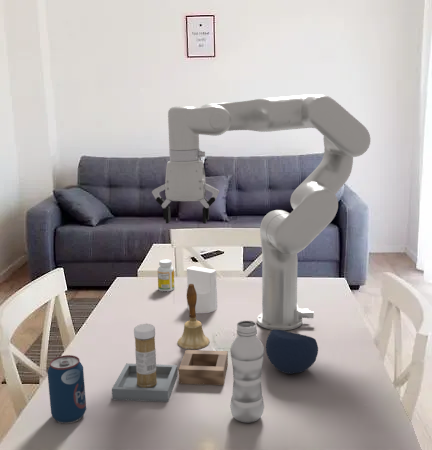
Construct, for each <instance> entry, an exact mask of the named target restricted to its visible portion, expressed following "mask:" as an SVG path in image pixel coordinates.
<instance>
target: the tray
mask: <svg viewBox="0 0 432 450" xmlns="http://www.w3.org/2000/svg"><path fill="white" fill-rule="evenodd" d="M178 377H179V368H178V364H159V363H158V364H157V363H156V379H157V384H156V385H155V386H153V387H150V388H142V387H139V386H138V385H137V371H136V363H129V362H128V363H126V364H124V366H123V368H122V370H121V372H120V373H119V375H118V377H117V378H116V381H115V383H114V384H113V386H112V387H111V397H112V400H113V401H114V400H116V401H135V402H136V401H141V402H161V403H162V402H164V403H165V402H167V403H168V402H169V400H170V398H171V395H172V392H173V389H174V387H175V384H176V380H177V378H178Z"/></svg>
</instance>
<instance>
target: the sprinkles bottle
mask: <svg viewBox="0 0 432 450" xmlns="http://www.w3.org/2000/svg"><path fill="white" fill-rule="evenodd" d="M133 336H134V337H133V338H134V341H135V342H134V346H135V348H134V349H135V364H136V371H137V385H138V386H139V387H142V388H150V387H153V386H155V385H156V384H157V379H156V364H157V353H156V351H157V349H156V341H155V340H156V339H155V338H156V327H155V325H153V324H151V323H150V324H149V323H141V324H138V325H135V327H133Z"/></svg>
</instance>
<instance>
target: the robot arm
mask: <svg viewBox="0 0 432 450" xmlns="http://www.w3.org/2000/svg"><path fill="white" fill-rule="evenodd" d="M167 118H168V119H167V120H168V121H167V123H168V148H169V160H168V161H167V163H166V170H165V179H164V180H165V181H164V182H165V183H164V184H162V185H160V186H158V187H156V188H154V189H153V190H152V191H151V194H152V195H153V198H154V199H155V201H156V202H157V204H159V205H160V206H161V208H162V213H163V215H162V216H163V220H165V224H169V223H170V222H171V220H172V219H171V206H170V203H171V202H199V203H200V204H201V205H202V207H203V208H202V224H206V225H207V222H208V221H209V220H210V207H211V206H212V205H213V204H214V203H215V201H216V200H217V198H218V196H219V194H220V190H219V189H217V188H215V186H212V185H210V184H208V183H206V172H205V167H204V162H203V160H200V159H201V158H205V157H206V151H202V150H201V149H200V136H199V135H203V136H212V137H214V136H221V135H223V134H225V133H227V132H231V131H252V132H260V133H262V132H263V133H265V132H270V133H271V132H278V131H280V132H281V131H287V130H289V131H290V130H300V129H316V130H317V131H318V132H319V133H320V134H321V135H322V136H323V146H324V151H323V156H322V159H321V161H320V163H319V164H318V165H317V166H316V168H315V169H314V170H313V171H312V172H311V173H310V174H309V175H308V176H307V177H306V178H305V179H304V180H303V181H302V182H301V183H300V184H299V185H298V186H297V187H296V188H295V189H294V191H293V192H292V193H291V195H290V199H289V201H290V206H291V208H292V209H293V210H291V212H288V211H287V210H283V209H275V210H271V211H269V212H268V213H266V215H264V217H263V218H262V219H261V221H260V222H261V223H260V227H259V236H260V245H261V256H262V257H261V258H262V259H261V260H262V262H261V263H262V266H261V267H262V270H261V273H262V276H261V277H262V279H261V280H262V281H261V282H262V283H261V285H262V287H261V289H262V291H261V293H262V298H261V299H262V303H261V304H262V307H261V309H262V311H261V313H260V314H258V315H257V316H256V324H258V326H259V327H262V328H264V329H267V330H270V331H272V330H274V329H275V330H276V329H278V330H284V331H290V330H294V329H297V328H299V327H301V325H303V319H314V316H315V315H314V311H311V310H309V308H300V307H299V304H298V253H300V252H302V251H303V250H304V249H305V248H307V247H308V246H309V245H310V244H311V243H312V242H313V241H314V240H315V239H316V238H317V237H318V236H319V235H320V234H321V233H322V232H323V231H324V230H325V229H326V228H327V226H328V225H330V224H331V222H332V221H333V220H334V219H335V217H336V216H337V215H336V214H337V212H338V209H339V200H338V197H337V195H336V194H337V193H338V192H339V191H340V189H342V187H343V186H345V184H346V182H347V181H348V180H349V178H350V176H351V173H352V170H353V165H354V164H353V163H354V158H356V157H360V156H363V155H364V154H366V152H367V151H368V149H369V148H370V145H371V136H370V135H371V134H370V132H369V130H368V129H367V127H366V126H365V125H364V124H362V122H361V121H359V120H358V119H357V118H356V117H355V116H354V115H352V114H351V113H350V112H349V111H348V110H346V109H345V108H344V107H343V106H342V105H341V104H340V103H339V102H338V101H336V100H335V99H333V98H332V97H330V96H329V95H326V94H300V95H299V94H298V95H289V96H287V95H286V96H277V97H266V98H265V97H264V98H257V99H256V98H255V99H250V100H245V101H244V100H243V101H232V102H231V101H230V102H229V101H228V102H220V103H218V102H217V103H207V104H204V105H201V106H200V107H195V106H191V105H190V106H189V105H188V106H183V105H181V106H172V107H171V108H169V109H168V111H167ZM163 191H165V192H164V193H165V199H164V198H163V197H161V194H160V193H161V192H163ZM207 191H208V192H210V193H212V195H211V197H210V198H209V199H207V197H206V195H207Z"/></svg>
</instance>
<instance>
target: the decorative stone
mask: <svg viewBox="0 0 432 450" xmlns="http://www.w3.org/2000/svg"><path fill="white" fill-rule="evenodd" d="M265 342H266V343H265V353H266V355H267V359H268V360H269V362H270V364H271V365H272V366H273V367H274V368H276V370H278V371H280V372H282V373H285V374H291V375H292V374H300V373H302V372H305V371H306V370H308V369H309V368H311V367H312V366H313V365H314V364H315V362H316V360H317V357H318V353H319V347H318V342H317V340H316V338H314V337H312V336H308V335H305V334H300V333H294V332H291V331H288V330H278V329H276V330H275V329H274V330H270V332H269V334H268V336H267V338H266V341H265Z"/></svg>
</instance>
